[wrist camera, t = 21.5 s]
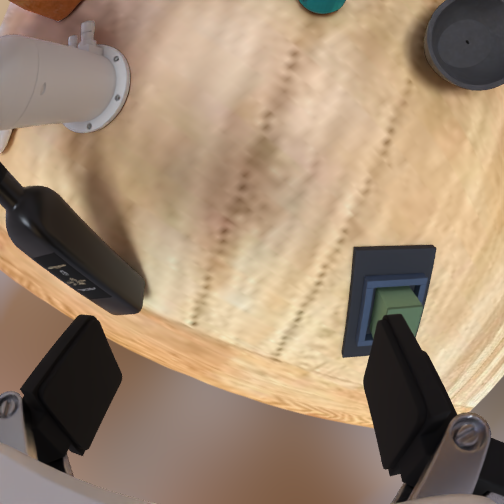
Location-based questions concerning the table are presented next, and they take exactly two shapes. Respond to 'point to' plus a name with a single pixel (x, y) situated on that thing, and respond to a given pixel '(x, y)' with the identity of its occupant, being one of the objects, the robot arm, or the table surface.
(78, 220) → the wine bottle
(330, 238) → the table surface
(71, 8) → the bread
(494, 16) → the bowl
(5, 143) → the earbud case
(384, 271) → the black pad
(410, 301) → the green block
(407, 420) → the robot arm
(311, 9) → the beverage can
